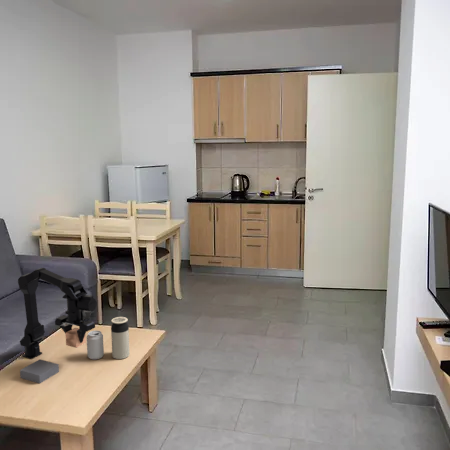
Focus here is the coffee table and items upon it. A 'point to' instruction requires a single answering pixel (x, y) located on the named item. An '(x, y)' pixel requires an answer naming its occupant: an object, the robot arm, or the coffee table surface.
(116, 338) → the travel mug
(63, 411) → the coffee table surface
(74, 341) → the terracotta cube
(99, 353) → the can
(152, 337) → the coffee table surface
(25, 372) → the charcoal box
